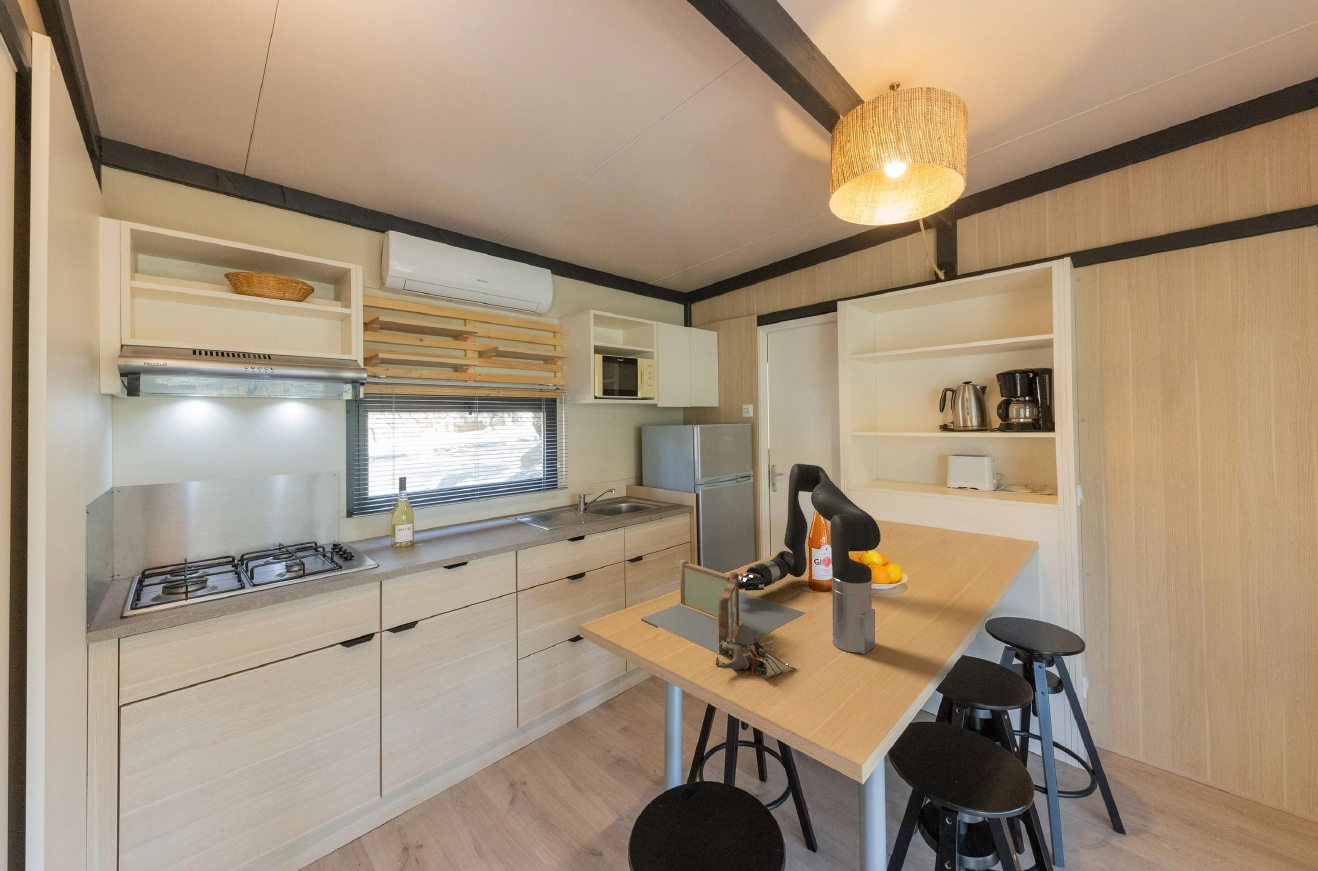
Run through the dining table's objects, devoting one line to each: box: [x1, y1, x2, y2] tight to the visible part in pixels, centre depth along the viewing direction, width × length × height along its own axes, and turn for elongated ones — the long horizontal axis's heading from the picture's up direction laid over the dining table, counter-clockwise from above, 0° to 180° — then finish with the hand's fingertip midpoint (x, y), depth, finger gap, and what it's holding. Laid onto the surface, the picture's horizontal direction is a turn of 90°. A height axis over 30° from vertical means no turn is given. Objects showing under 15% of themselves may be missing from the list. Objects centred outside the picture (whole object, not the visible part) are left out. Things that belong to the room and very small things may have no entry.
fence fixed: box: [718, 572, 740, 656], centre depth 126 cm, size 20×2×14 cm, turn 162°
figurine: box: [714, 636, 798, 681], centre depth 111 cm, size 20×6×17 cm
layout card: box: [640, 591, 806, 657], centre depth 140 cm, size 31×37×1 cm
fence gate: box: [679, 559, 730, 617], centre depth 143 cm, size 20×2×13 cm, turn 42°
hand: (729, 588), depth 146 cm, fingers closed
